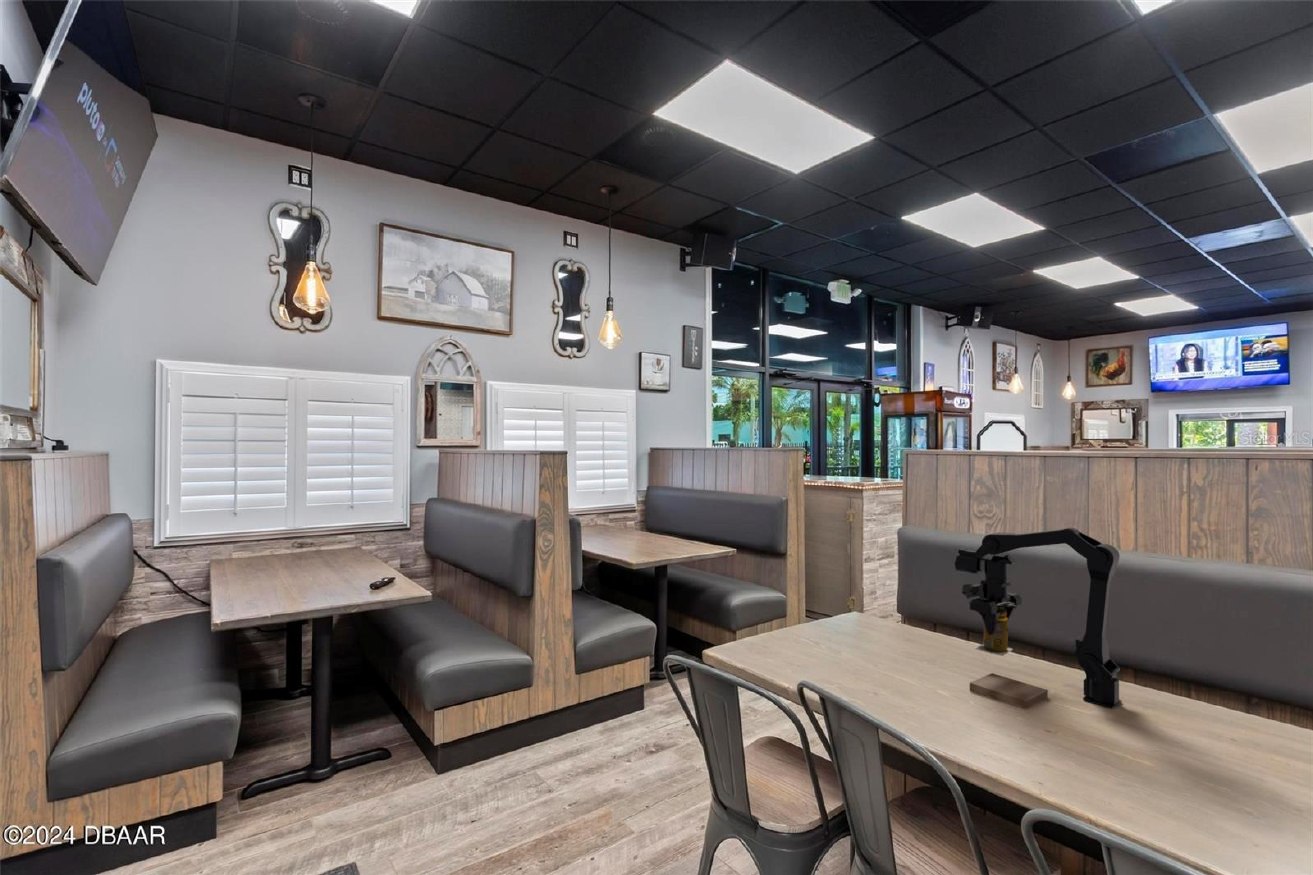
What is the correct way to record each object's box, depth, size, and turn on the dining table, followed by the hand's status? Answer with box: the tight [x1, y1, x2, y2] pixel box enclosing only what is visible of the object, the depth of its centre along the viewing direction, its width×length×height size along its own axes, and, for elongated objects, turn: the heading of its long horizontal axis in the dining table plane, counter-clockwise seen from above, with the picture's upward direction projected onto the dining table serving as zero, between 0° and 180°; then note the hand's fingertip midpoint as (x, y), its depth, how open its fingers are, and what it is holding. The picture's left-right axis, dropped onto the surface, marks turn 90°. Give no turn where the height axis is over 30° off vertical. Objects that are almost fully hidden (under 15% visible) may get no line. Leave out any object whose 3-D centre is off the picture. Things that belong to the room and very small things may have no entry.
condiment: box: [974, 606, 1013, 657], centre depth 175 cm, size 7×8×12 cm
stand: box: [969, 672, 1049, 710], centre depth 162 cm, size 14×12×2 cm
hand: (995, 632), depth 176 cm, fingers closed on condiment, 6 cm apart
